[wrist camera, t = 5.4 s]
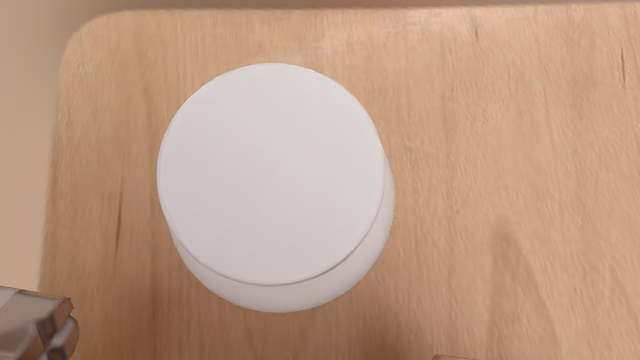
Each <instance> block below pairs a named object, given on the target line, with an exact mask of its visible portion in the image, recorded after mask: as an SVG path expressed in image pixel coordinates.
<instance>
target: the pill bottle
mask: <svg viewBox="0 0 640 360" xmlns="http://www.w3.org/2000/svg"><path fill="white" fill-rule="evenodd" d="M156 174H157V190H158V196H159V200H160V205H161V208H162V211H163V214H164V217H165V219H166V221H167V223H168V227H169V232H170V234H171V237H172V240H173V242H174V245H175V247H176V249H177V252H178V253H179V255H180V257H181V259H182V260H183V262H184V263H185V265H186V266H187V268H188V269H189V270H190V272H191V273H192V274H193V275H194V276H195V277H196V278H197V279H198V280H199V281H200V282H201V283H202V284H203V285H204V286H205V287H207V288H208V289H209V290H210V291H212V292H213V293H215V294H216V295H218V296H219V297H221V298H223V299H225V300H226V301H228V302H230V303H232V304H235V305H238V306H240V307H243V308H246V309H250V310H254V311H259V312H267V313H292V312H298V311H303V310H307V309H312V308H315V307H318V306H320V305H323V304H326V303H328V302H330V301H332V300H334V299H336V298H338V297H339V296H341V295H342V294H344V293H345V292H347V291H348V290H350V289H351V288H352V287H354V286H355V285H356V284H357V283H358V282H359V281H360V280H361V279H362V278H363V277H364V276H365V275H366V274H367V273H368V272H369V271H370V269H371V268H372V267H373V266H374V264H375V263H376V261H377V259H378V258H379V256H380V254H381V253H382V251H383V249H384V247H385V245H386V242H387V240H388V237H389V234H390V232H391V228H392V223H393V219H394V212H395V185H394V179H393V175H392V170H391V167H390V164H389V160H388V158H387V156H386V153H385V151H384V149H383V147H382V143H381V140H380V137H379V134H378V132H377V129H376V127H375V125H374V123H373V121H372V120H371V118H370V116H369V115H368V113H367V112H366V110H365V108H364V107H363V106H362V105H361V103H360V102H359V101H358V100H357V99H356V98H355V97H354V96H353V95H352V94H351V93H350V92H349V91H348V90H347V89H345V88H344V87H343V86H342V85H340V84H339V83H337V82H336V81H334V80H333V79H331V78H329V77H327V76H325V75H323V74H321V73H319V72H316V71H314V70H311V69H309V68H305V67H301V66H297V65H291V64H284V63H262V64H254V65H248V66H244V67H241V68H237V69H234V70H231V71H229V72H226V73H224V74H222V75H220V76H218V77H216V78H214V79H212V80H211V81H209V82H208V83H206V84H205V85H203V86H202V87H201V88H200V89H198V90H197V91H196V92H195V93H194V94H192V95H191V96H190V97H189V98H188V99H187V100H186V101H185V102H184V104H183V105H182V106H181V107H180V109H179V110H178V111H177V112H176V114H175V116H174V117H173V119H172V120H171V122H170V124H169V126H168V128H167V131H166V133H165V135H164V137H163V140H162V144H161V147H160V151H159V154H158V162H157V170H156Z"/></svg>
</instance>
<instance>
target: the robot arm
mask: <svg viewBox="0 0 640 360" xmlns="http://www.w3.org/2000/svg"><path fill="white" fill-rule="evenodd" d="M73 309H74V307H73V304H72V301H71V298H67V297H62V296H56V295H50V294H45V293H39V292H33V291H28V290H22V289H16V288H10V287H4V286H0V360H69V359H70V358H71V356H72V354H73V353H74V351H75V348H76V345H77V342H78V339H79V325H78V321H77V320H75V319H74V318H73V317H72V316H71V315H70V313H71V311H72V310H73ZM432 360H474V359H466V358H459V357H452V356H445V355H438V354H436V355H435V356H433V358H432Z"/></svg>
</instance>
